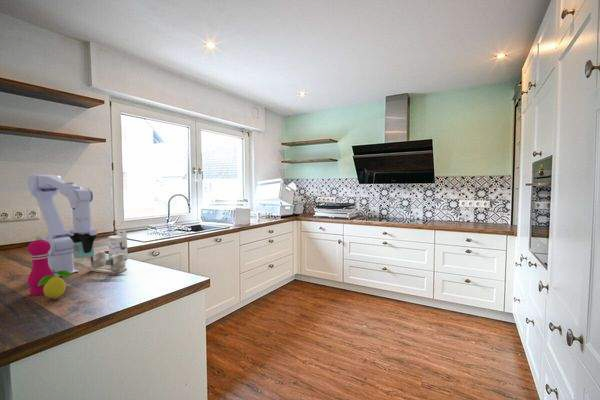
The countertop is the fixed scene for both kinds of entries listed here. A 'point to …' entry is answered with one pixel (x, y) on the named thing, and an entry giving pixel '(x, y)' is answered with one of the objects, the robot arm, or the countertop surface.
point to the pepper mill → (38, 264)
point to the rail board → (100, 265)
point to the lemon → (54, 284)
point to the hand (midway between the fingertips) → (84, 252)
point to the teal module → (81, 251)
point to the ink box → (118, 244)
